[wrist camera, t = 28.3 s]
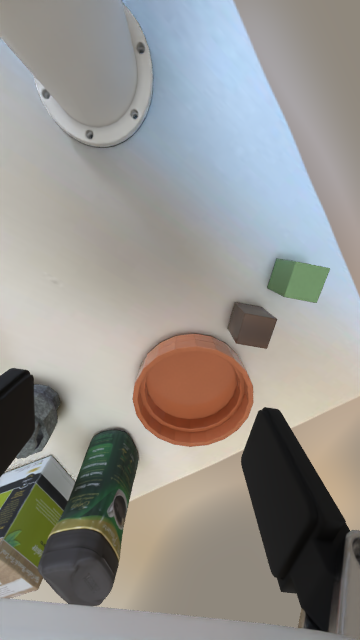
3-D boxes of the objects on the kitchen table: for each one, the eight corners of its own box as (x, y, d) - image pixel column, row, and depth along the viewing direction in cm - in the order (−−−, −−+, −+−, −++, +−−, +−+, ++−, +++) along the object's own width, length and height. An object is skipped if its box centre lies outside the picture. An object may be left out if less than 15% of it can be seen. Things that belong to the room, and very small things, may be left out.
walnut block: (234, 302, 33) (244, 313, 27) (262, 307, 33) (277, 319, 28) (227, 328, 34) (235, 343, 29) (253, 332, 34) (267, 349, 29)
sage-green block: (276, 258, 31) (296, 261, 25) (305, 264, 31) (330, 268, 26) (266, 288, 32) (283, 296, 27) (294, 293, 32) (316, 303, 27)
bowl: (146, 323, 34) (141, 336, 29) (257, 342, 35) (269, 358, 30) (133, 414, 39) (127, 437, 35) (228, 428, 40) (235, 453, 36)
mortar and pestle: (33, 427, 40) (-24, 500, 29) (1, 387, 37) (-77, 450, 26) (87, 408, 39) (49, 476, 28) (58, 365, 36) (2, 420, 25)
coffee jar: (86, 432, 41) (15, 576, 23) (127, 423, 40) (86, 565, 22) (105, 469, 44) (56, 621, 26) (144, 461, 43) (119, 612, 26)
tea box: (21, 507, 47) (-45, 617, 33) (-10, 476, 44) (-98, 583, 30) (81, 486, 45) (37, 595, 31) (52, 453, 42) (-11, 556, 28)
